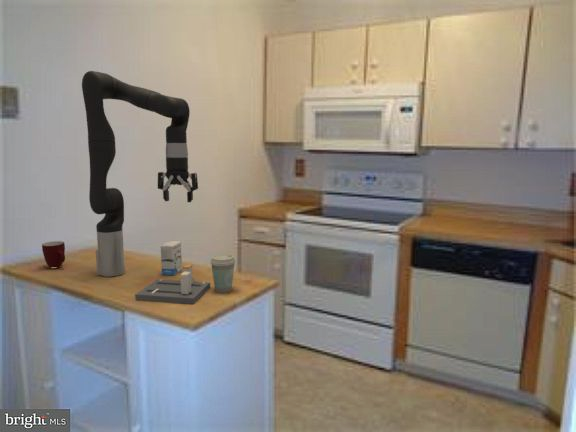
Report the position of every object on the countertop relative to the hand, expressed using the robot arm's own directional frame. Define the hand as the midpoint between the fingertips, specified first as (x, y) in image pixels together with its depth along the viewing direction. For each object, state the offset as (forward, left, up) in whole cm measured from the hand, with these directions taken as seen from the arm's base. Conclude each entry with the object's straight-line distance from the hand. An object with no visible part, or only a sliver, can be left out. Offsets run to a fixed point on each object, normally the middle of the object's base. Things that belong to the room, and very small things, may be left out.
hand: (178, 201), depth 159 cm
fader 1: (+6, -9, -27) cm, 30 cm away
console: (+3, -13, -30) cm, 33 cm away
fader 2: (+9, -17, -28) cm, 33 cm away
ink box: (-8, +10, -30) cm, 33 cm away
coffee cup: (+18, -6, -30) cm, 36 cm away
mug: (-56, +7, -30) cm, 64 cm away
